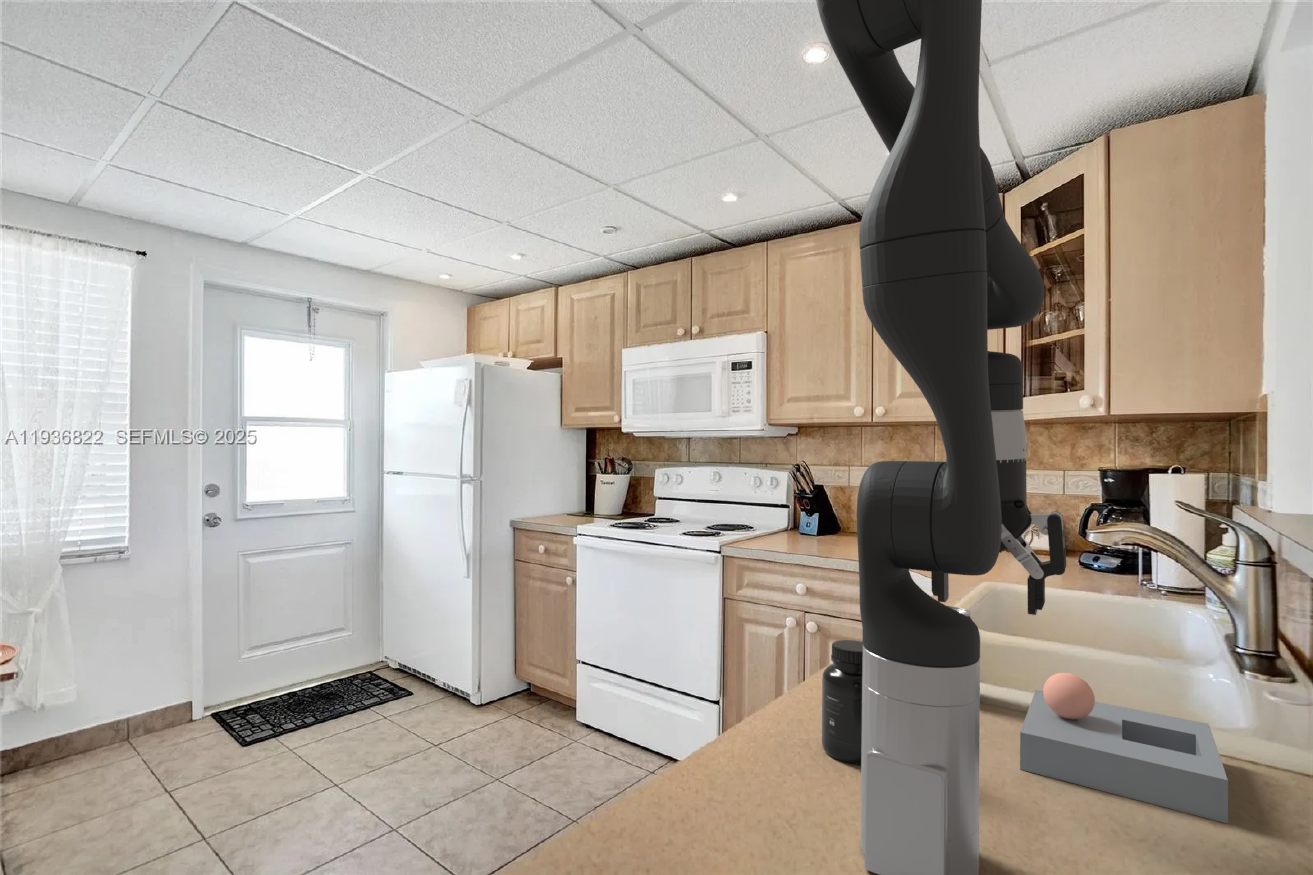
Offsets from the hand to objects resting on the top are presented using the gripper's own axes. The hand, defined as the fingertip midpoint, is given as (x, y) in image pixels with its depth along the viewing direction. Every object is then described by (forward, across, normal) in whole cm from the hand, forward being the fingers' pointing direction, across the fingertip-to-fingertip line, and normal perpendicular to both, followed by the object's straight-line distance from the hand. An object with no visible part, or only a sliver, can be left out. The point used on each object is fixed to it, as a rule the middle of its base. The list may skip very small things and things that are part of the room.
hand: (986, 606), depth 69 cm
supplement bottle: (+18, -13, -4) cm, 23 cm away
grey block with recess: (+19, +11, +11) cm, 24 cm away
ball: (+12, +7, +11) cm, 18 cm away
